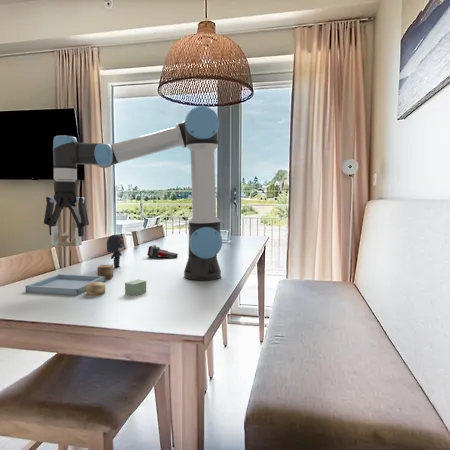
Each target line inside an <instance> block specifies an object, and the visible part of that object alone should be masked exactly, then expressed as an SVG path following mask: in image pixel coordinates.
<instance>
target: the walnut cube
mask: <svg viewBox="0 0 450 450" xmlns="http://www.w3.org/2000/svg"><path fill="white" fill-rule="evenodd" d="M96 269H97V270H96V271H97V276H105V281H107V280H112V279H113V278H114V264H100V265H98V266H97V267H96Z"/></svg>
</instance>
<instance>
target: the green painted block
mask: <svg viewBox="0 0 450 450" xmlns="http://www.w3.org/2000/svg"><path fill="white" fill-rule="evenodd" d="M144 293H147V280H143V279H139V278H138V279H134V280H131V281H128V282H124V294H125V295H127V296H132V297H135V296H137V295H141V294H144Z"/></svg>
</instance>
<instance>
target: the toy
mask: <svg viewBox="0 0 450 450" xmlns="http://www.w3.org/2000/svg"><path fill="white" fill-rule="evenodd" d="M124 241H125V240H124V237H123V236H122V235H119V234H111V235H110V236H109V237H108V238H107V240H106V251H107V252H108V253H112V255H111V256H110V260H112V259H113V269H118V268H120V267H121V265H120V261H121V260H120V258H121V256H123V255H122V253H121V252H123V251H124V249H125V244H124Z"/></svg>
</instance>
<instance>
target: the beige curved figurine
mask: <svg viewBox="0 0 450 450" xmlns="http://www.w3.org/2000/svg"><path fill="white" fill-rule="evenodd" d="M70 227H71V229H72V231H74V232H75V228H76V227H77V224H76V222H75V221H72V222H71V223H70ZM69 237H70V235H69V233H67V232H63V231H58V241H59V245H60V246H61V247H63V248H65V247H66V248H67V247H77V246H76V238H74V239H73V240H71V241H67V239H68V238H69Z"/></svg>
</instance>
